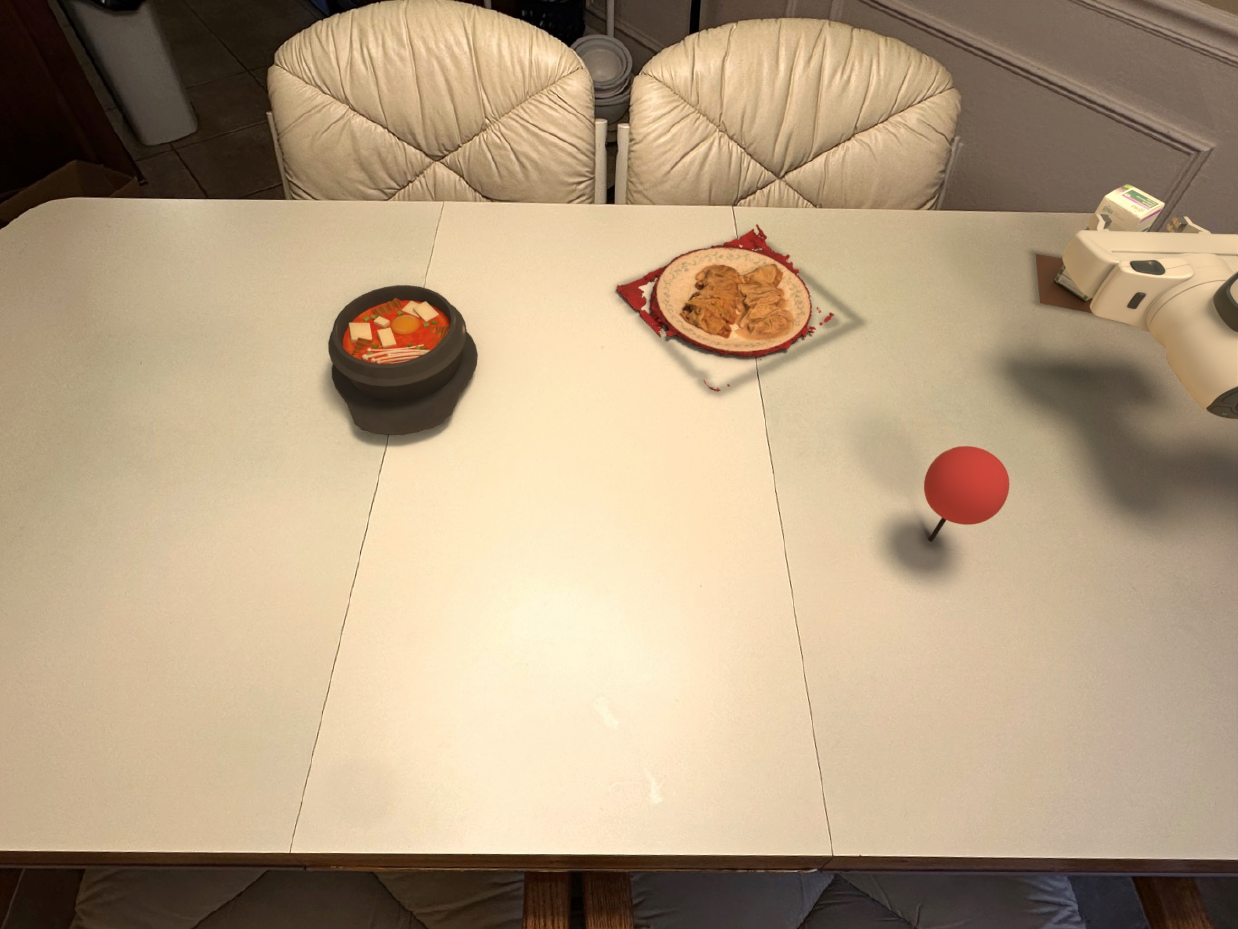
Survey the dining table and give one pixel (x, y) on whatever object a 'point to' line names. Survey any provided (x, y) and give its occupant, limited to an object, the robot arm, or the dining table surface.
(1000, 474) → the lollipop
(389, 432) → the casserole
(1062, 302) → the stand
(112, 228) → the dining table surface
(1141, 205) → the syrup box
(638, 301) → the plate with food
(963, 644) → the dining table surface
